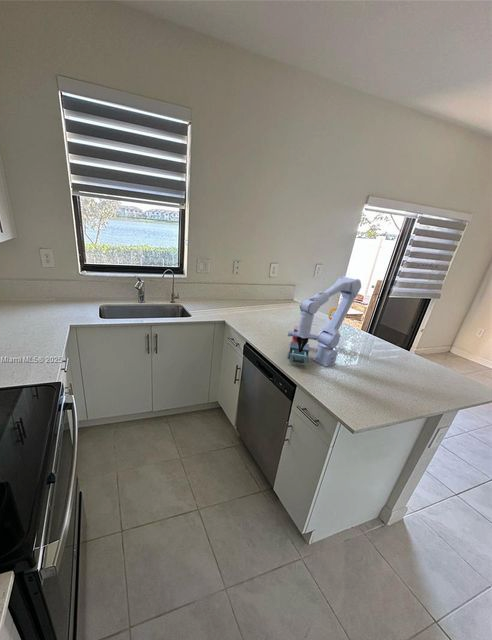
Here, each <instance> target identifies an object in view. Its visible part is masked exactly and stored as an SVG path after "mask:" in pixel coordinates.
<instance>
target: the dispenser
mask: <svg viewBox="0 0 492 640" xmlns="http://www.w3.org/2000/svg"><path fill="white" fill-rule="evenodd" d="M301 345H302V343H301ZM293 349H295V350H299V346H298V342H292V340H291V342H290V346H289V351H288V357H287V358H288V360H290V354H291V353H292V350H293ZM302 351H306V356H308V357H309V353H310V344H309V343H307V344H306V345H305V346H304V348H303V350H302ZM308 357H307V359H308Z"/></svg>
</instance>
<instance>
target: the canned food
mask: <svg viewBox="0 0 492 640" xmlns="http://www.w3.org/2000/svg"><path fill="white" fill-rule="evenodd" d="M298 328H299V325H296V326H294V328H293V332H298ZM291 341H292V342H297V337H292V338H291ZM302 341H303V338H302Z"/></svg>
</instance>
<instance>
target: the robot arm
mask: <svg viewBox="0 0 492 640" xmlns="http://www.w3.org/2000/svg"><path fill="white" fill-rule="evenodd" d="M361 289H362V282H361V280H360V279H359V278H352V277H350V276H349V277H348V276H345V275H341V276H340V277H338V278H336V281H335V283H333V284H332V285H331V286H330V287H328V288H327V289H326V290H325V291H324V290H320V291H317V293H316V294H314V295H313V296H311V297H310V298H309V299H308V298H307V299H304V300H302V302H300V305H299V310H300V312H299V314H300V318H299V324H298V326H299V328H298V332H294V331H288V332H287V337H289V338H290V337H292V338H293V337H297V342H298V346H299V352H300V353H302V350H303V348H304V346H305V345H306V344H308V343H309V340H313V341H316V342H317V344H318V348H317V352H316V355H315V356H316V357H312V359H311V360H312V361H314V362H316V363H318V364H320V365H322V366H323V367H329V366H333V365H336V361H337V358H338V357H337V356H338V351H337V350H336V347H338V345H339V342H340V339H341V333H340V331H339V330H340V328H341V326H342V324H343V322H344V320H345V318H346V317H347V315H348V312H349V311H350V309H351V307H352V305H353V303H354V301H355V299H356V298H357V296H358V294H359V292H360V291H361ZM338 293H340V295H341V296H342V298H341V300H340V302H339V304H338V306H337V307H338V308H337V310H335V312H334V314H333V315H332V317H331V318H332V320H330V322H329V323H328V326H325V327H323V328H322V329H321V331H320V332H319V333H318V334H314V333H313V334H312V333H311V331H312V327H313V321H314V316H315V314H317V312H318V311H319V309H320V308H321V307H322V306H323V305H325V304H326V303H328V301H329V300H330V298H331V297H333V296H334V295H336V294H338ZM329 333H332V334H333V335H331V334H329ZM302 338H303V341H302ZM301 343H302V345H301ZM334 348H335V349H334Z"/></svg>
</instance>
